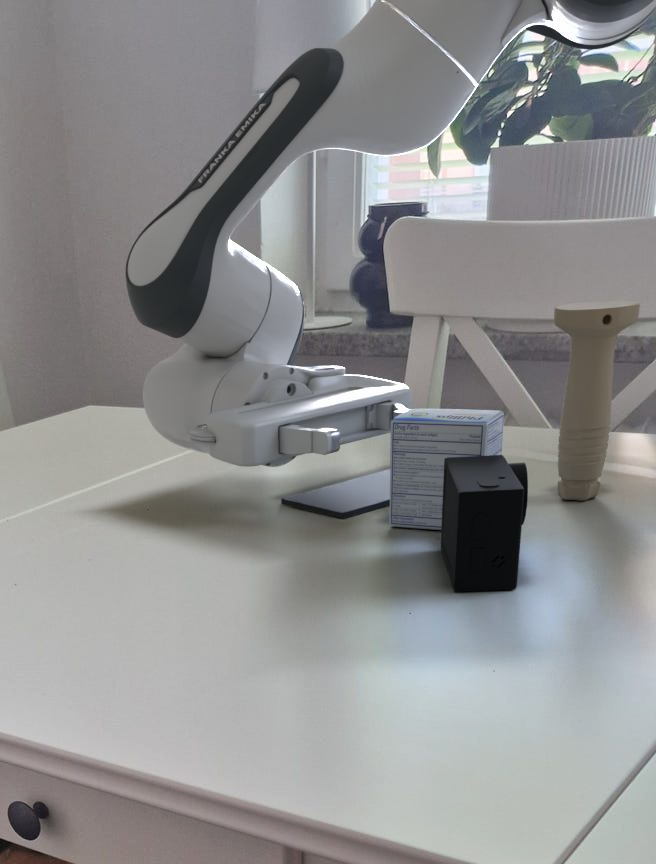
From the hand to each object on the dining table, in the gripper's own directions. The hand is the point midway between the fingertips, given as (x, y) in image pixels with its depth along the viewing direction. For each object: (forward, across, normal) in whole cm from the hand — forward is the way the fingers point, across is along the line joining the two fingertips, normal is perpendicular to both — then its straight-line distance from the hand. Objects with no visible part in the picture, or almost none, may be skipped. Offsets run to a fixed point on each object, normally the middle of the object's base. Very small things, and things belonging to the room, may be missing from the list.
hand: (375, 432), depth 98 cm
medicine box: (+8, 0, +7) cm, 10 cm away
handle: (+11, +13, +6) cm, 18 cm away
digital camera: (+18, -7, +6) cm, 20 cm away
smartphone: (-4, +3, +6) cm, 8 cm away
